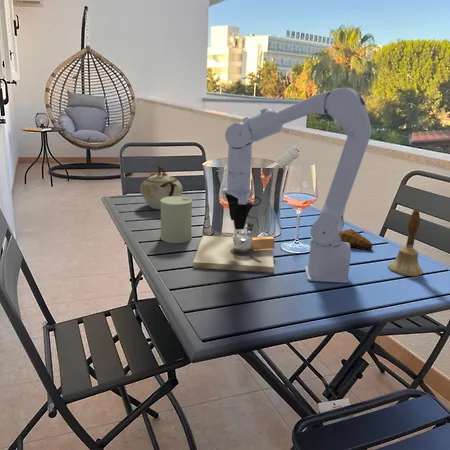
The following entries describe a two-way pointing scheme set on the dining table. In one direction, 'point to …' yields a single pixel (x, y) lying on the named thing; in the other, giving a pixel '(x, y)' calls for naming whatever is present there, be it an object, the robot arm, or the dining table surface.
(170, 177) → the sugar bowl
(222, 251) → the base plate
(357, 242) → the croissant
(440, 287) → the dining table surface
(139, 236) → the dining table surface
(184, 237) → the can
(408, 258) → the hand bell
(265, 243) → the wooden handled dome
